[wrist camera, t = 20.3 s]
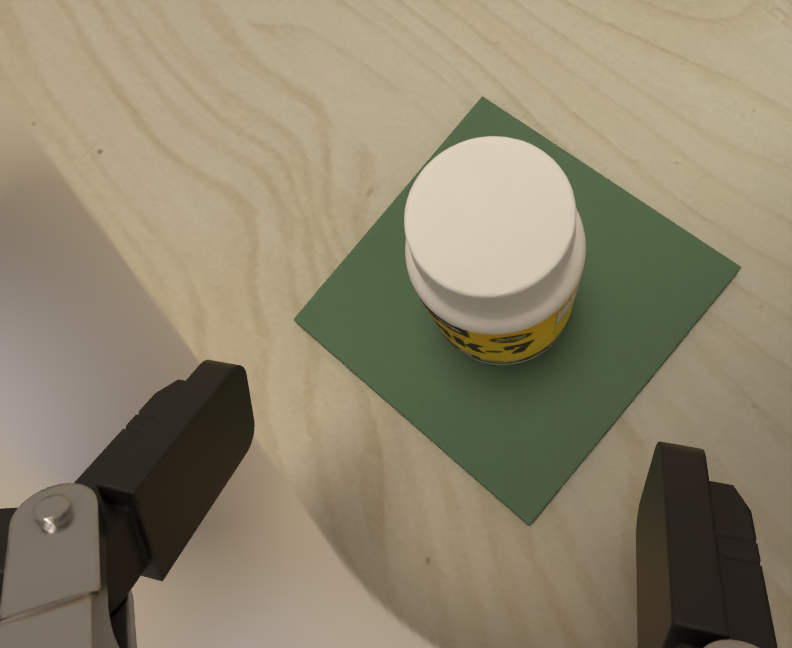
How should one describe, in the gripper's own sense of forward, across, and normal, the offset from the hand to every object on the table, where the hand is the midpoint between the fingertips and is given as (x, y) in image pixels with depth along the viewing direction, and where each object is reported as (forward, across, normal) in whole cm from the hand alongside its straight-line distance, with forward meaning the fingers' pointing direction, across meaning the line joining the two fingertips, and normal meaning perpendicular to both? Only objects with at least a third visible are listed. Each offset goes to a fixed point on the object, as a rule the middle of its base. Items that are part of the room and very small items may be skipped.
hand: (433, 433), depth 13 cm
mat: (+11, 0, +4) cm, 12 cm away
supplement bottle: (+11, 0, +4) cm, 11 cm away
